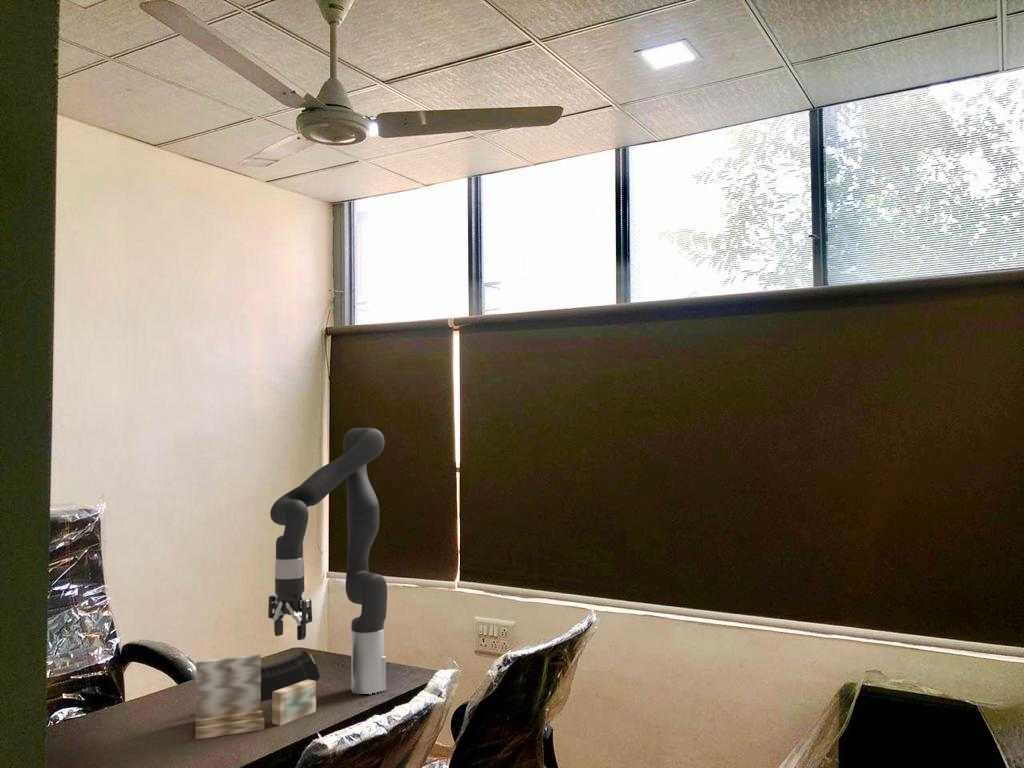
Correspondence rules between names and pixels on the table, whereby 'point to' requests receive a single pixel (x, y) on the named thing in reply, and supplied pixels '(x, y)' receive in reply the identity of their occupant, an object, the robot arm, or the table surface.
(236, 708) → the marble tile stand
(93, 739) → the table surface
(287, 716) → the frame
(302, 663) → the magazine
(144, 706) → the table surface
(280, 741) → the table surface
